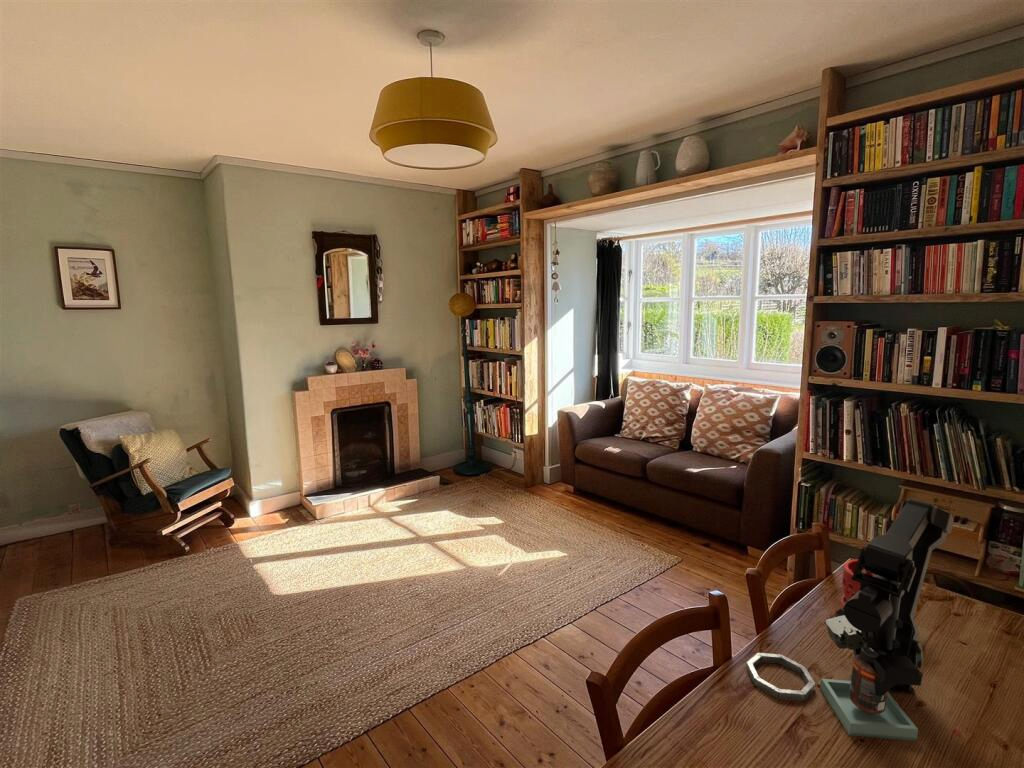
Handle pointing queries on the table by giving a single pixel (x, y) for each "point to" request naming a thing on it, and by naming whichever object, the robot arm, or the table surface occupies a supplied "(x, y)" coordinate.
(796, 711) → the table surface
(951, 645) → the table surface
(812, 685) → the holder ring
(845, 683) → the tray
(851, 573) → the plant pot
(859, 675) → the supplement bottle
